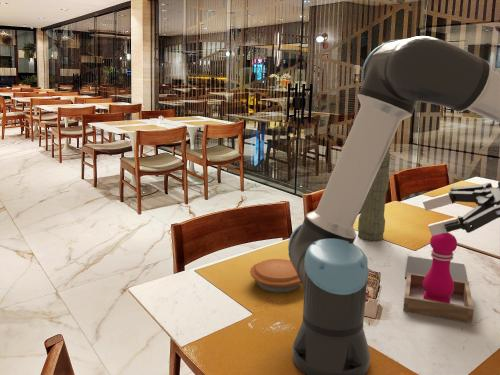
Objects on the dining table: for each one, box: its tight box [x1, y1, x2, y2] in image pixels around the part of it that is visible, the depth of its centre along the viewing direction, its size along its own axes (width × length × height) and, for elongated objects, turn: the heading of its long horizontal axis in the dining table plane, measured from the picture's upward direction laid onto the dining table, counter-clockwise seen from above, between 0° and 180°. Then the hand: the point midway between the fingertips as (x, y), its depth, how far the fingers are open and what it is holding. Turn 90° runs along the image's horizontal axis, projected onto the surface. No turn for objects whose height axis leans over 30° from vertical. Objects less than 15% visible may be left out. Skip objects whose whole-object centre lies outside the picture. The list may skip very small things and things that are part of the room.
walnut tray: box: [402, 272, 475, 324], centre depth 112 cm, size 15×15×4 cm
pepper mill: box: [422, 232, 458, 303], centre depth 110 cm, size 7×7×20 cm
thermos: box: [357, 147, 391, 243], centre depth 152 cm, size 9×12×35 cm
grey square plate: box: [404, 255, 468, 282], centre depth 129 cm, size 16×16×1 cm
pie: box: [249, 258, 302, 294], centre depth 121 cm, size 16×16×5 cm
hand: (426, 217), depth 111 cm, fingers open, 13 cm apart
